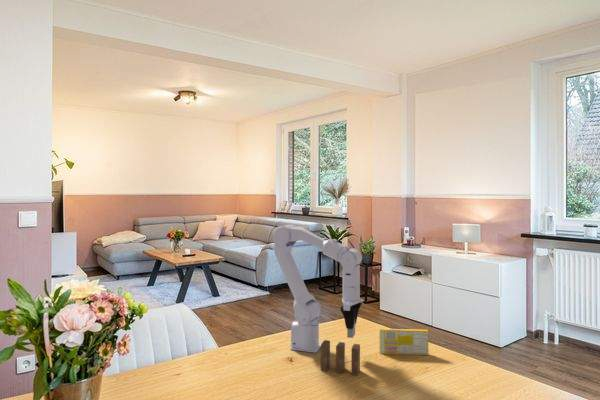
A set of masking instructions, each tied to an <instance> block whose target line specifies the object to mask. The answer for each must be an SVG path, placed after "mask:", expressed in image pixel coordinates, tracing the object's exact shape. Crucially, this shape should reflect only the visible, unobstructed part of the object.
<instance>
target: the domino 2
mask: <svg viewBox="0 0 600 400" xmlns="http://www.w3.org/2000/svg"><path fill="white" fill-rule="evenodd" d="M345 347H346V343H345V341H344V342H341V341H338V342H337V344H336V346H335V373H336V374H343V372H344V370H345V367H346V365H345V364H346V363H345V362H346V361H345V360H346V358H345V357H346V355H345V354H346V353H345V351H346V349H345Z"/></svg>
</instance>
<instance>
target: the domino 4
mask: <svg viewBox="0 0 600 400" xmlns="http://www.w3.org/2000/svg"><path fill="white" fill-rule="evenodd" d="M350 362H351V366H350V367H351V368H350V369H351V375H352V376H358V375H359V372H360V371H361V344H358V343H353V345H352V347H351V361H350Z"/></svg>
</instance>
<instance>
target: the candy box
mask: <svg viewBox="0 0 600 400" xmlns="http://www.w3.org/2000/svg"><path fill="white" fill-rule="evenodd" d="M378 331H379V332H378V333H379V340H378V341H379V348H378V349H379V354H386V355H387V354H388V355H407V356H408V355H411V356H413V355H414V356H415V355H416V356H429V355H430V354H429V351H430V350H429V330H428V329H421V328H420V329H419V328H415V329H412V328H411V329H409V328H383V327H382V328H380V327H379V330H378Z"/></svg>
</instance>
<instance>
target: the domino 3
mask: <svg viewBox="0 0 600 400" xmlns="http://www.w3.org/2000/svg"><path fill="white" fill-rule="evenodd" d="M346 330H347V331H346V333H347V334H346V335H347V338H348V339H349V338H350V339H354V336H355V335H356V324H355V320H354V327H353V329H347V328H346Z"/></svg>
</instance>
